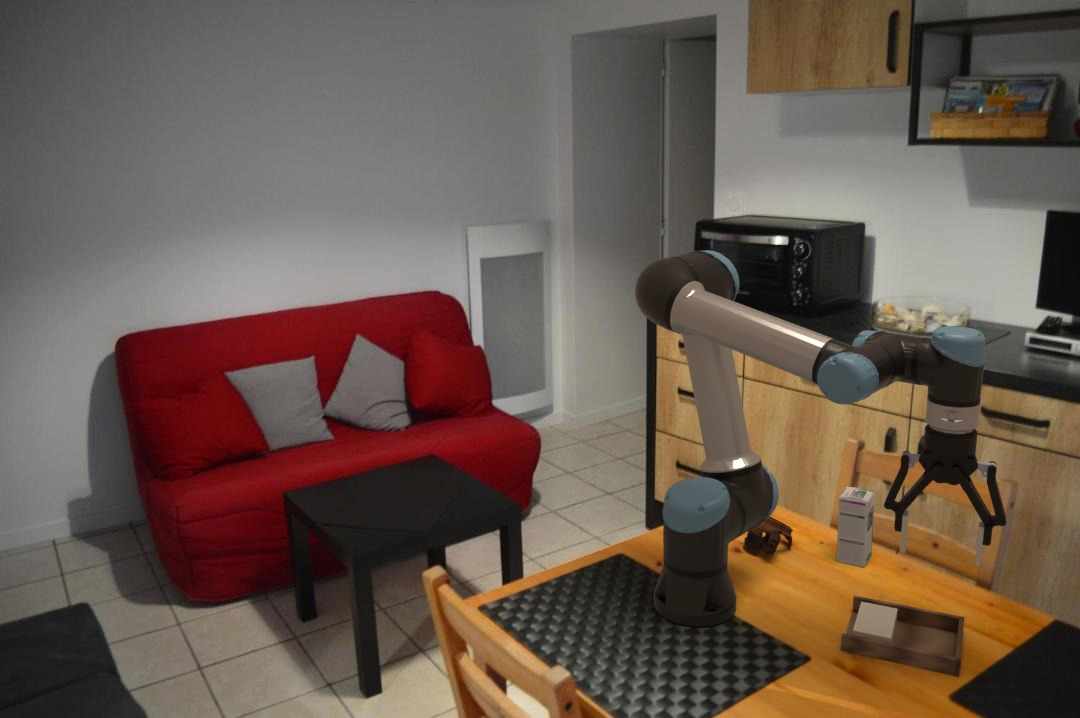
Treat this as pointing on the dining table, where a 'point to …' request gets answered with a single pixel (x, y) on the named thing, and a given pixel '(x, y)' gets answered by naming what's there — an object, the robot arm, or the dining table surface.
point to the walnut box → (912, 639)
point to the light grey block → (875, 622)
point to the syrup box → (855, 526)
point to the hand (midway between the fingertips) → (939, 555)
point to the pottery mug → (767, 537)
